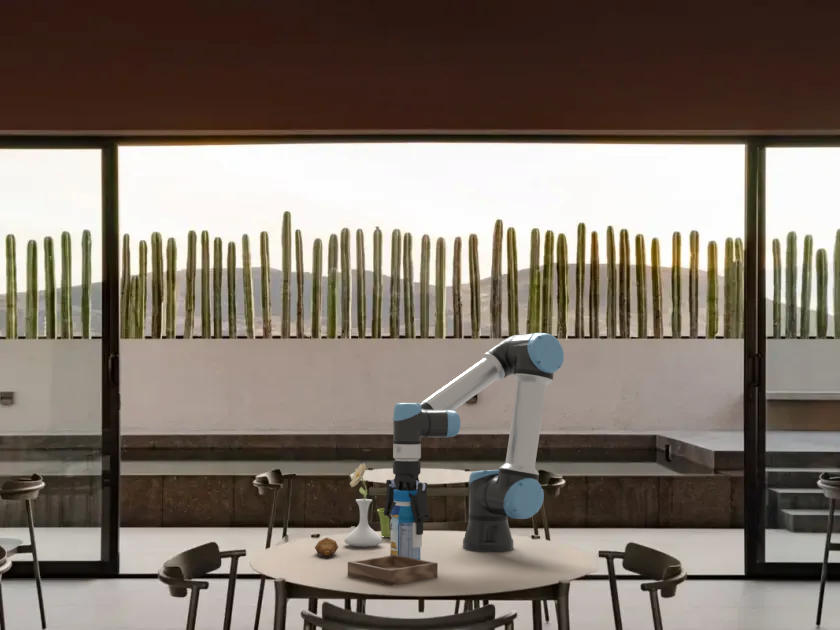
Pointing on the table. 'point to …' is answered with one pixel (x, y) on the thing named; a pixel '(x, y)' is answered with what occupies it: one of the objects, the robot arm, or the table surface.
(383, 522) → the plant pot
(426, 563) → the walnut tray
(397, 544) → the beverage bottle
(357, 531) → the flower in vase
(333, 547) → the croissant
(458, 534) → the table surface
